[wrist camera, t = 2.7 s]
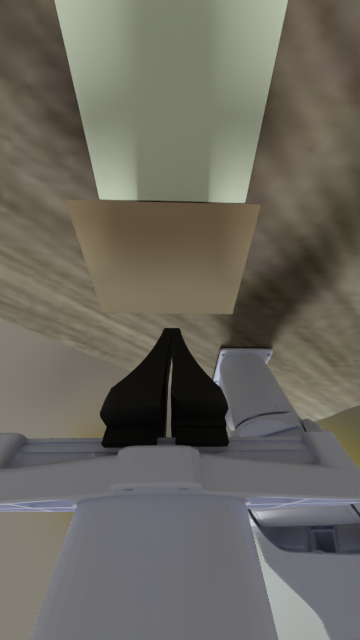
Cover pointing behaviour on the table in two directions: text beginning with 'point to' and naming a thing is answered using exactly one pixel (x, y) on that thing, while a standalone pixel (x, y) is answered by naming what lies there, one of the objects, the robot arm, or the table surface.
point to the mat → (172, 92)
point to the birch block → (164, 254)
